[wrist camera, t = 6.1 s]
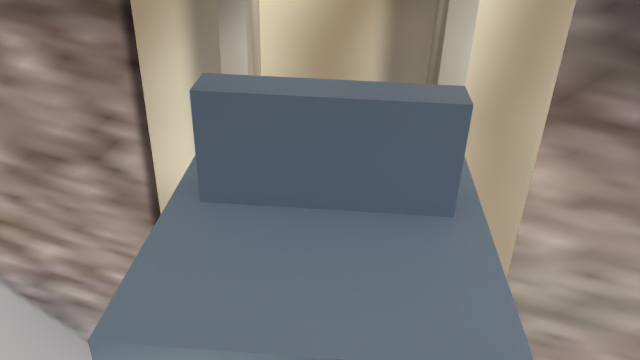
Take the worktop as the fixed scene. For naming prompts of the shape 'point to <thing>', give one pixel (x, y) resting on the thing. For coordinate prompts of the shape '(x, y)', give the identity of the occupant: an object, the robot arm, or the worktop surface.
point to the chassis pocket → (367, 71)
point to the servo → (319, 233)
